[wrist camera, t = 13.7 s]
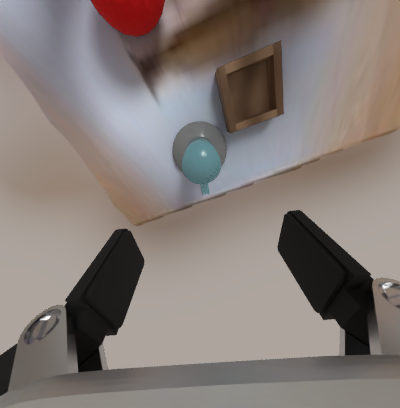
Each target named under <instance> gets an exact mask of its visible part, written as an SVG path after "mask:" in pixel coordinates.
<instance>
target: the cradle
mask: <svg viewBox="0 0 400 408" xmlns="http://www.w3.org/2000/svg"><path fill="white" fill-rule="evenodd" d="M215 76H216V81H217V85H218V90H219V95H220V99H221V104H222V109H223V113H224V118H225V123H226V127H227V132H229V133H232V132H235V131H238V130H241V129H243V128H246V127H249V126H252V125H254V124H257V123H260V122H263V121H266V120H268V119H271V118H274V117H277V116H279V115H282V114H284V111H283V81H282V51H281V41H278V42H276V43H274V44H272V45H269V46H267V47H265V48H262V49H260V50H258V51H255V52H253V53H251V54H249V55H246V56H244V57H242V58H239V59H237V60H235V61H233V62H230V63H228V64H226V65H223V66H221V67H219V68H217V70H216V72H215Z"/></svg>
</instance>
